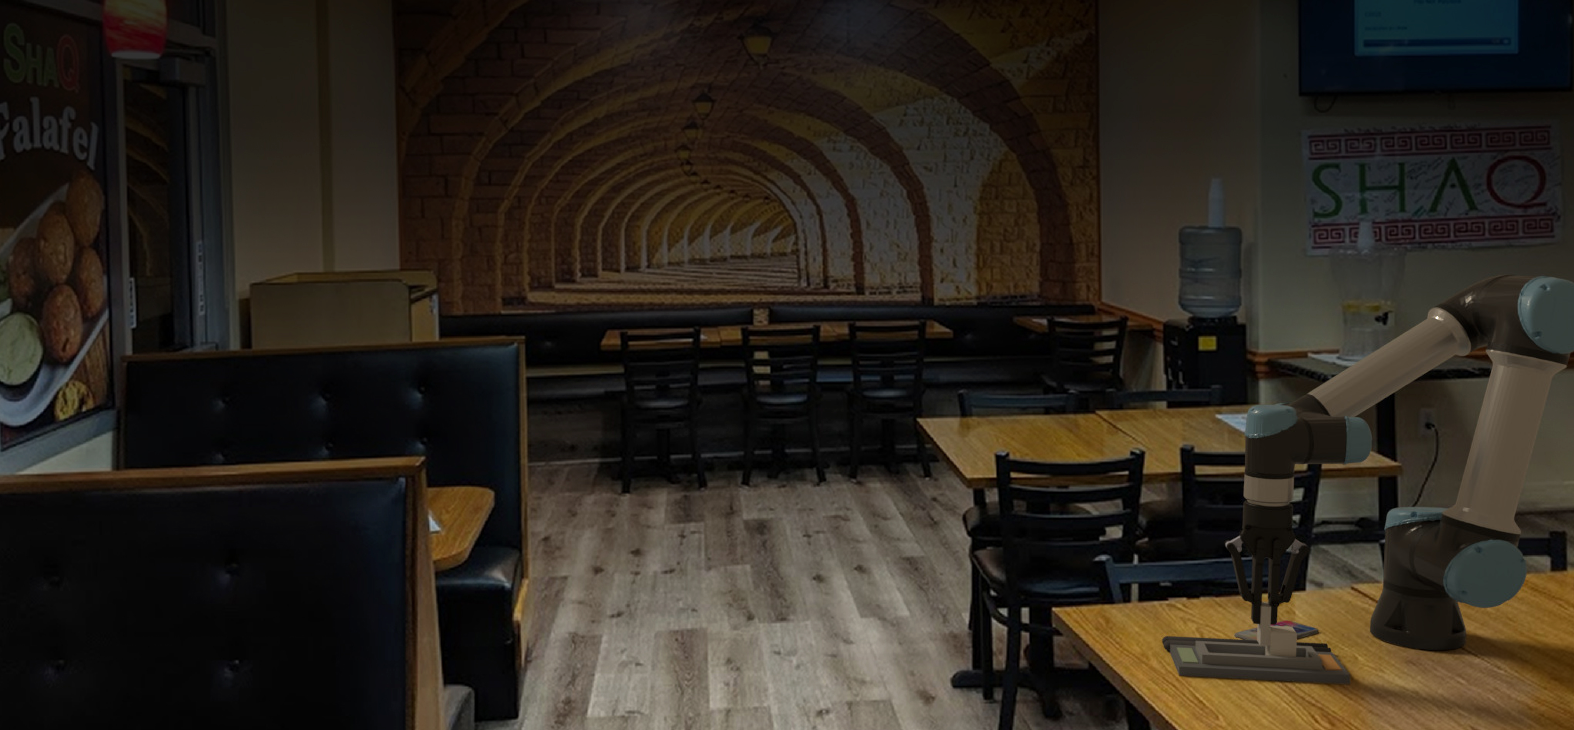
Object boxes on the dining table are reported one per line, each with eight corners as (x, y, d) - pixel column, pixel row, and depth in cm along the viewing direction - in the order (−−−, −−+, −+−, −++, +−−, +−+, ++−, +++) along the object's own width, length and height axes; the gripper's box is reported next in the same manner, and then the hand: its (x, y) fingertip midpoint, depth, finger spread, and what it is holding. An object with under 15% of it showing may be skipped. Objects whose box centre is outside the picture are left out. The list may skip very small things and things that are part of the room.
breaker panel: (1331, 660, 211) (1332, 643, 211) (1349, 684, 201) (1350, 665, 200) (1170, 653, 216) (1170, 635, 215) (1179, 675, 205) (1179, 657, 204)
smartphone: (1231, 632, 225) (1286, 618, 233) (1231, 638, 225) (1286, 624, 233) (1266, 643, 219) (1321, 629, 226) (1266, 649, 219) (1321, 634, 226)
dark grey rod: (1325, 652, 216) (1325, 642, 216) (1327, 655, 214) (1328, 645, 214) (1161, 644, 220) (1161, 634, 220) (1162, 647, 218) (1162, 637, 218)
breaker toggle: (1290, 656, 209) (1291, 626, 208) (1295, 663, 205) (1296, 633, 205) (1265, 654, 209) (1266, 625, 209) (1269, 662, 206) (1270, 632, 205)
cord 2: (1328, 656, 214) (1328, 646, 213) (1331, 660, 212) (1331, 649, 212) (1162, 648, 218) (1163, 638, 218) (1164, 652, 216) (1164, 641, 216)
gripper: (1305, 497, 208) (1299, 637, 210) (1222, 495, 210) (1217, 633, 212) (1316, 507, 200) (1310, 652, 203) (1230, 504, 202) (1225, 648, 205)
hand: (1263, 642), depth 208 cm, fingers closed
